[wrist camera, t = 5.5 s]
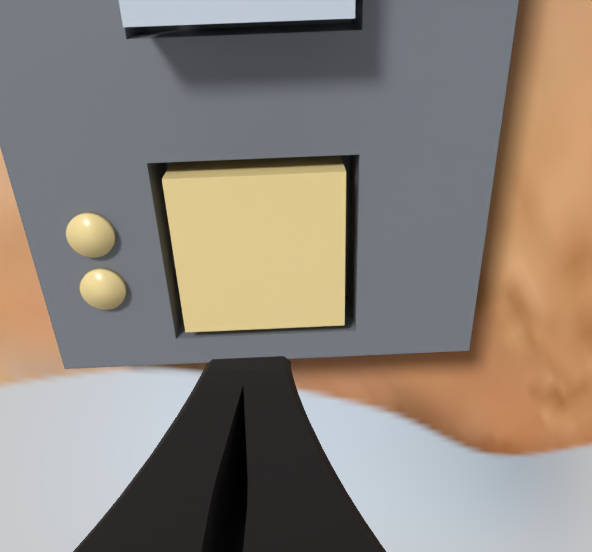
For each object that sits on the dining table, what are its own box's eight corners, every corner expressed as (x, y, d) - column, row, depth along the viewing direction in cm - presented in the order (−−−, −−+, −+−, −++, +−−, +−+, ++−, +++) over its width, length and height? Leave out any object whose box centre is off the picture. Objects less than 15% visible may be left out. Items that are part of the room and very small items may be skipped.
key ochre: (338, 148, 15) (345, 171, 14) (337, 289, 18) (344, 325, 16) (174, 155, 15) (161, 179, 14) (194, 296, 18) (185, 332, 16)
